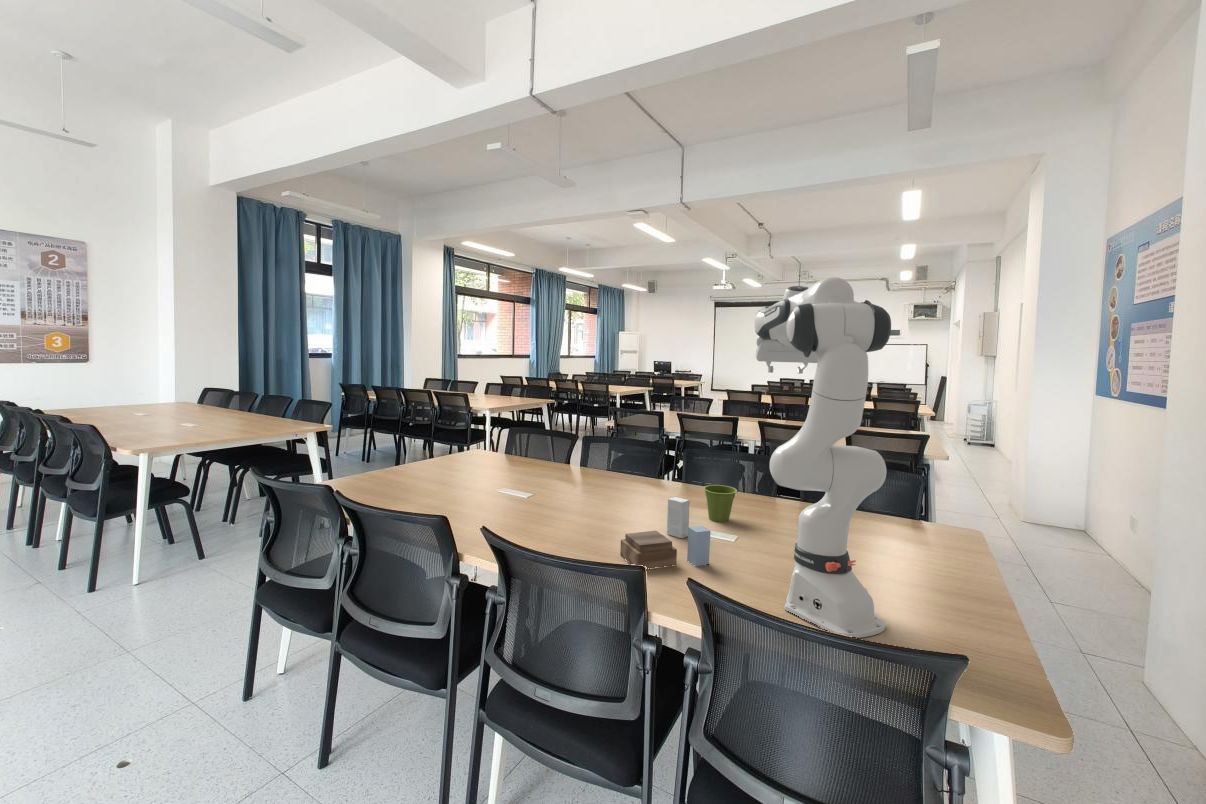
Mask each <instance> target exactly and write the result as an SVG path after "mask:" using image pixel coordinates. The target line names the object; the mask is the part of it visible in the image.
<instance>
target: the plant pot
mask: <svg viewBox="0 0 1206 804" xmlns="http://www.w3.org/2000/svg"><path fill="white" fill-rule="evenodd" d="M703 490H704V492H705V497H706V503H707V504H706V505H707V512H708V513H707V516H708V519H709V520H711V521H712V522H719V523H724V522H725V523H726V522H728V521H729V519H730V516H731V511H732V507H733V502H734V500H735V497H736V493H737V492H738V490H737V488H735V487H733V486H728V485H722V484H711V485H705V486H703Z"/></svg>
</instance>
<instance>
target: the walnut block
mask: <svg viewBox="0 0 1206 804" xmlns="http://www.w3.org/2000/svg"><path fill="white" fill-rule="evenodd" d="M624 537H625V538H624V539H620V552H619V553H620V556H621V558H622V559H624V560H625V559H626V560H627V561H629V563H628V564H629V565H630V564H635V565H643V566H646V567H647V569H648V568H649V569H648V570H651V569H650V568H655V567H663V568H665V567H664V566H671V567H673V566H672V565H676V566H677V556H678V554H677V553H678V549H677V548H676V547H674V545H673V540H671V539H670V538H668V537H666V536H665V535H663V534H662V533H660V531H658V530H650V531H649V530H648V531H638V532H631V533H630V532H629V533H625V536H624ZM626 560H625V561H626ZM627 561H626V562H627Z"/></svg>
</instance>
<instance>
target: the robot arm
mask: <svg viewBox="0 0 1206 804" xmlns="http://www.w3.org/2000/svg"><path fill="white" fill-rule="evenodd" d="M854 296H855V295H854V290H853V288H852V285H851V284H850V283H849V282H848V281H847V280H845V279H843V278H840V277H836V276H835V277H834V276H833V277H831V276H830V277H826V278H823V279H821V280H818V281H816V282H814V283H813V284H812V285H810V286H809V287H808V286H802V285H796V286H795V285H794V286H793V285H792V286H789V287H787V288H786V289H785V292H784V294H783V297H782V300H779V301H778V302H776V303H773V304H772V305H769V306H768V305H764V306H763V307H761V308H760V309H759V310H758V311H757V312H756V315H755V317H754V331H755V333H756V335H757V336H758V337H757V339H756V346H757V347H756V350H755V358H756V360H757V361H758V362H765V363H766V366H767V372H768V373H772V374H773V373H774V369H775V368H774V365H771V363H799V364H801V365H800V366H797V370H796V373H797V374H799V375H800V374H803V372H804V370H805V369H806V367H808V366H809V364H817V365H816V369H815V373H814V374H815V375H814V378H813V384H812V389H811V397H810V402H809V406H808V407H809V408H808V411H807V416H806V419H805V420H804V423H803V424H802V426H801V428H800V429H799V431H797V432H796V434H795V435H794V436H793V437H792V438H791V439H789V440H788V441H786V442H784V443H783V444H781V445H779V446H777V447H776V449H775V450H774V451H773V452H772V454H771V457H770V459H769V472H770V474H771V477H772V479H773V481H774V482H775V483H776V484H777V485H778V486H780V487H783V488H789V489H793V490H797V491H807V492H808V491H810V492H811V491H813V492H815V491H816V492H825V493H824V495H823V497H822V498H821V499H820V500H819V501H818V502H817V501H816V502H815V503H812V504H810V505H808V506H806V507H805V508H804V509H803V510H802V511H801V512H800V514H799V516H798V518H797V519H798V523H797V534H796V535H797V539H796V543H795V545H794V549H793V559H794V561H795V562H794V563H795V564H794V568H793V571H792V573H791V578H790V585H789V589H788V594H787V596H786V602H785V604H784V610H785V612H786V611H787V612H788V611H789V612H788V613H790V612H791V613H790V614H792V613H793V614H792V615H794V614H795V616H796V615H797V616H796V617H798V616H799V617H798V618H800V619H803V620H804V619H805V620H804V621H806V620H807V621H806V622H808V621H809V622H808V623H810V622H812V623H815V624H817V625H820V626H822V627H819V626H817V627H818V628H820V629H822V630H824V629H825V630H828V631H831V632H835V633H839V634H844V635H847V636H852V637H856V638H855V639H858V638H859V639H860V638H866V637H867V638H868V637H871V636H875V635H878V634H880V633H882V632H884V631H885V630H886V628H887V627H886V623H885V621H884V620H882V619H880V618H879V617H878V616H876V615H875V603H874V599H873V597H872V596H871V594H870V593H869V591H868V589H867V588H865V587H864V585H863V584H862V583H861V581H860V580H859V579H858V577H857V576H856V574H855V573H854V572H853V571H852V570H853V567H852V566H857V565H856V562H857V560H855V559H854V560H851V558H850V554H849V551H848V538H849V531H850V527H851V526H850V525H851V521H852V518H853V516H854V513H855V512H856V510H857V509H858V507H859V505H860V504H861V503H862V502H863V501H864V500H865V499H866V498H867V497H869V496H870V495H872V494H873V493H874V492H877V491H878V490H879V489H880V488H881V487H882V486H883V485H884V483H885V481H886V478H887V472H888V471H887V466H886V465H887V464H886V462H885V459H884V458H883V456H882V455H881V454H880V453H879V452H878V451H877V450H874V449H870V448H866V447H860V446H856V445H839V444H838V445H837V444H836V443H837V442H838V441H840V440H843V439H845V438H847V437H849V436H852V435H853V434H854V433H856V432H857V430H858V429H859V428H860V426H861V425H862V420H863V415H864V409H865V403H866V398H867V392H868V385H869V356H868V354H867V353H871V352H876V351H880V350H883V348H885V346H886V345H887V343H888V342H889V339H890V337H891V331H892V319H891V316H890V313H888V312H887V310H886V309H885V308H884V307H882V306H879V305H878V304H873V303H872V302H871V301H870V300H867V299H866V300H865V301H864V302H863V301H861V302H858V301H855V297H854ZM812 623H811V624H812ZM825 630H824V631H825Z"/></svg>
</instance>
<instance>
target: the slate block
mask: <svg viewBox="0 0 1206 804" xmlns="http://www.w3.org/2000/svg"><path fill="white" fill-rule="evenodd" d="M710 547H711V530H710V529H708V528H707V527H704V525H698V526H697V525H696V526H689V527H688V536H687V555H686V558H687V559H686V562H688V561H689V562H690V563H692V564H693V565H695V566H698V567H700V566H699V565H705V566H707V565H706V564H709V565H710ZM689 562H688V563H689ZM690 563H689V564H690ZM692 564H691V565H692ZM693 565H692V566H693ZM695 566H694V567H695Z"/></svg>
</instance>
